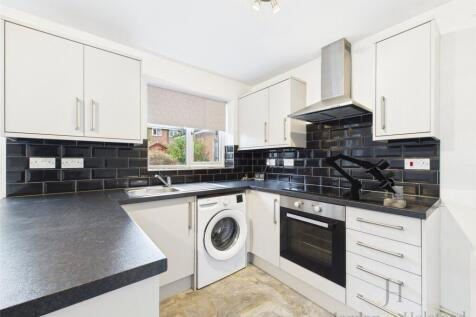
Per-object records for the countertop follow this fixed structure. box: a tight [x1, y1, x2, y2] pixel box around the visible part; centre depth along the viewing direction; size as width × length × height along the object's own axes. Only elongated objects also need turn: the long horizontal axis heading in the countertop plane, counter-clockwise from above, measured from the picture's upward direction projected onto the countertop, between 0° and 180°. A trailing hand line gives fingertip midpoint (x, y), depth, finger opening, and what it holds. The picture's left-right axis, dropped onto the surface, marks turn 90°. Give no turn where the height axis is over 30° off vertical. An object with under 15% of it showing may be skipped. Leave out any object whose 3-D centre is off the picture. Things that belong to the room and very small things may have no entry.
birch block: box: [383, 198, 407, 209], centre depth 132 cm, size 10×7×4 cm
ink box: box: [391, 185, 404, 200], centre depth 138 cm, size 8×5×12 cm, turn 135°
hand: (397, 192), depth 138 cm, fingers open, 9 cm apart
